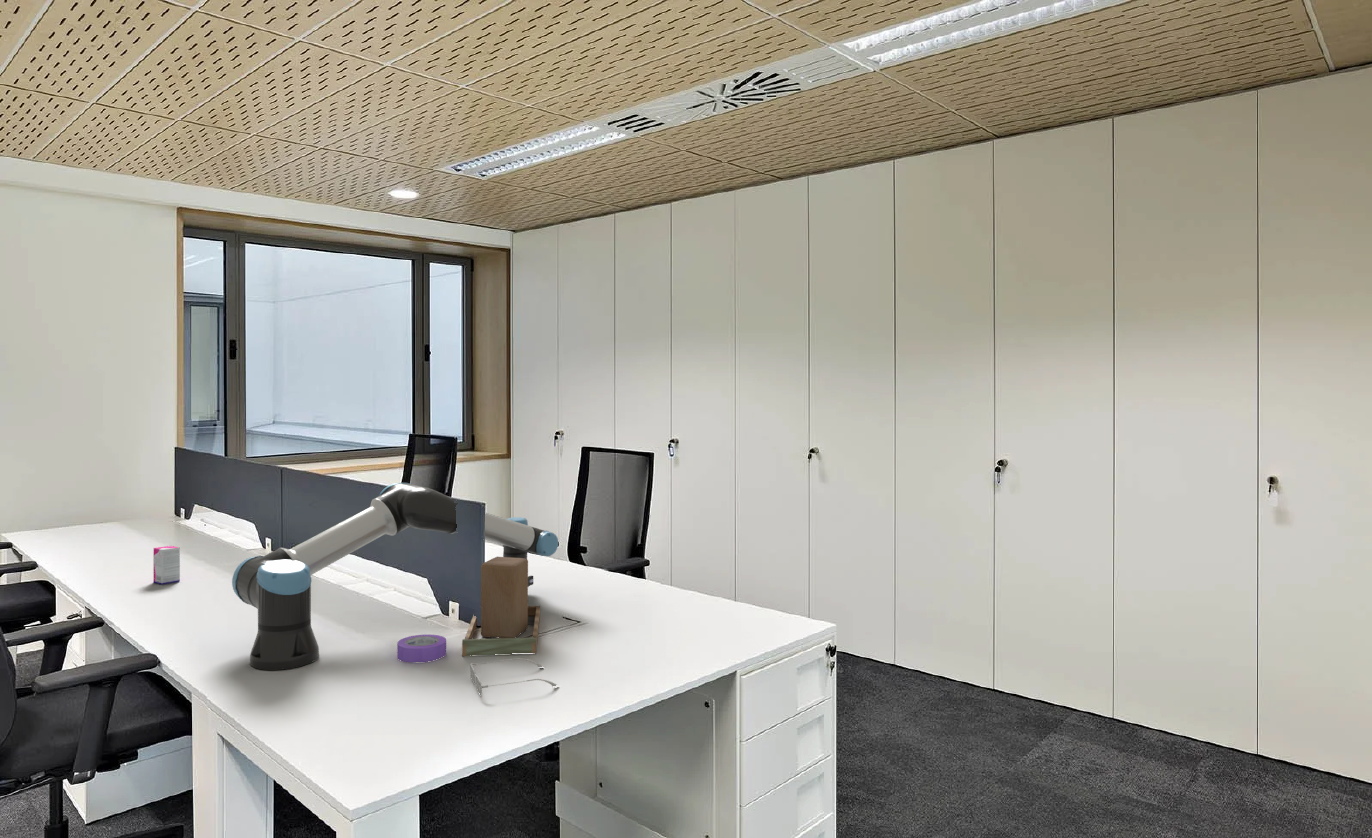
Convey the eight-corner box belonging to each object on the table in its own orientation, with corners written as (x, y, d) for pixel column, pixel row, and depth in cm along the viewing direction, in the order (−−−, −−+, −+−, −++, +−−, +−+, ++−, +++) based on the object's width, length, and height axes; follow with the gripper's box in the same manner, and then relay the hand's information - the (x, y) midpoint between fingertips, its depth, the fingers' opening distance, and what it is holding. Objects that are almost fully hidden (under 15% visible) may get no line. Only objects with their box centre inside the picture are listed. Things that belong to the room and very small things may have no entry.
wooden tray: (535, 654, 215) (535, 638, 215) (462, 656, 212) (462, 640, 212) (540, 616, 249) (540, 602, 248) (476, 617, 246) (476, 603, 246)
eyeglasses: (468, 678, 199) (468, 661, 199) (544, 668, 206) (545, 652, 206) (480, 702, 185) (480, 683, 185) (561, 691, 192) (562, 673, 192)
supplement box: (180, 581, 281) (180, 547, 281) (161, 585, 276) (161, 550, 276) (171, 579, 284) (171, 545, 284) (152, 582, 279) (152, 547, 279)
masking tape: (407, 647, 219) (407, 633, 219) (452, 649, 219) (452, 634, 219) (389, 663, 207) (389, 647, 207) (437, 664, 207) (437, 649, 207)
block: (514, 640, 226) (515, 565, 225) (479, 637, 228) (479, 563, 227) (528, 629, 235) (529, 557, 234) (494, 627, 237) (495, 555, 236)
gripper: (534, 586, 263) (532, 607, 240) (491, 587, 261) (484, 608, 238) (535, 562, 263) (532, 580, 239) (491, 562, 261) (484, 581, 237)
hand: (508, 594), depth 238 cm, fingers closed
